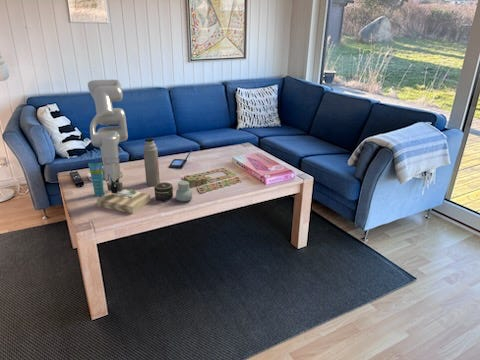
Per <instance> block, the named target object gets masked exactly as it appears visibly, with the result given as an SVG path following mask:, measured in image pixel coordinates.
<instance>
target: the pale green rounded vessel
mask: <svg viewBox="0 0 480 360" xmlns="http://www.w3.org/2000/svg"><path fill="white" fill-rule="evenodd" d="M177 185H178V186H177V187H178V188H177V189H176V190H175V191H176V192H175V199H176V200H177V201H179V202H189V201H191V200H192V198H193V188H190V187H189V182H188V181H184V180H181V181H179V182H178V184H177Z"/></svg>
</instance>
